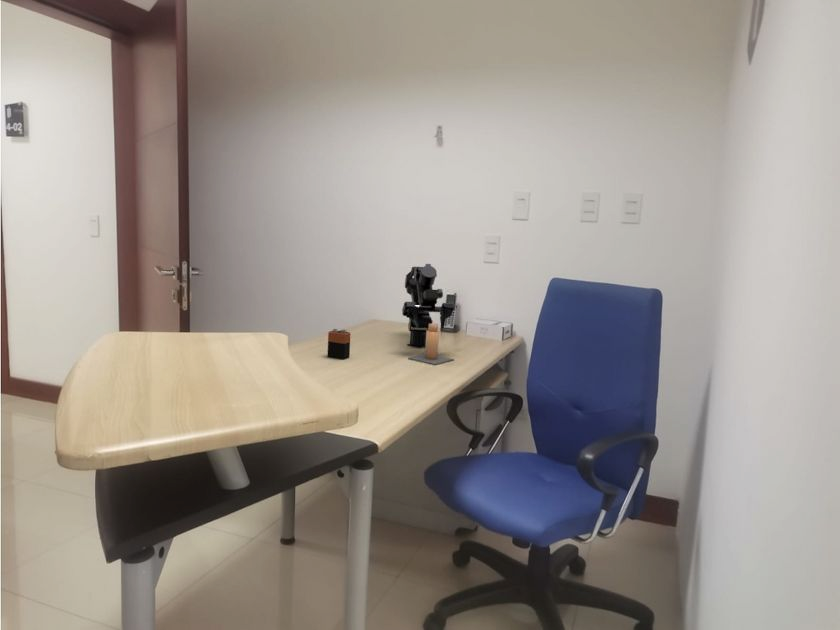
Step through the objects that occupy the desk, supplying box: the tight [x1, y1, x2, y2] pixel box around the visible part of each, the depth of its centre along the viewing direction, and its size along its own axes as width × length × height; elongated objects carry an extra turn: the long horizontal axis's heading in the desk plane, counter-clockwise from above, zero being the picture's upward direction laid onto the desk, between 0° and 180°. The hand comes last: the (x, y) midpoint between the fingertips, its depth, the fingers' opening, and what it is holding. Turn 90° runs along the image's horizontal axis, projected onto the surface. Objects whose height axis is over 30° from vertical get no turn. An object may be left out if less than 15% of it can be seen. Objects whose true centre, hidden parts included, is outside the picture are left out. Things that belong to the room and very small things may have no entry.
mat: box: [407, 353, 455, 366], centre depth 207 cm, size 12×12×1 cm
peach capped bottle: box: [424, 323, 440, 360], centre depth 206 cm, size 5×5×12 cm
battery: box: [326, 328, 351, 360], centre depth 201 cm, size 4×7×10 cm, turn 68°
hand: (430, 328), depth 209 cm, fingers open, 9 cm apart
